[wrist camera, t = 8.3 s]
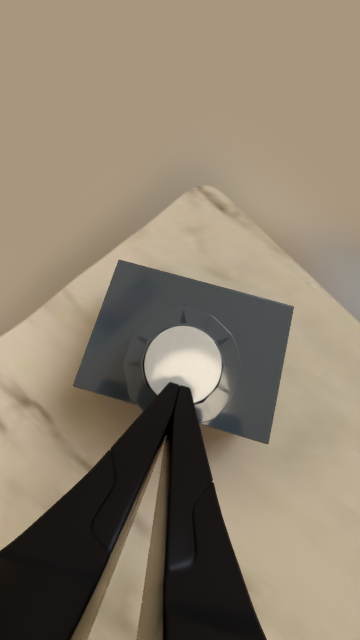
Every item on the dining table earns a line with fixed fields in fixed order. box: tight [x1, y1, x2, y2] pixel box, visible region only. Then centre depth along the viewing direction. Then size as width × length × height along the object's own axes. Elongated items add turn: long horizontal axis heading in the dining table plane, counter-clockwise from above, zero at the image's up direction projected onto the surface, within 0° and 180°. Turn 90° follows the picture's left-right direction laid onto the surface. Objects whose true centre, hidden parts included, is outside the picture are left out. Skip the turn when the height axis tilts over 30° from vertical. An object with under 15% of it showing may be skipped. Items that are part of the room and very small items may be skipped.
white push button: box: [144, 326, 222, 403], centre depth 14 cm, size 4×4×2 cm
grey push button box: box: [73, 260, 294, 444], centre depth 18 cm, size 10×14×7 cm
